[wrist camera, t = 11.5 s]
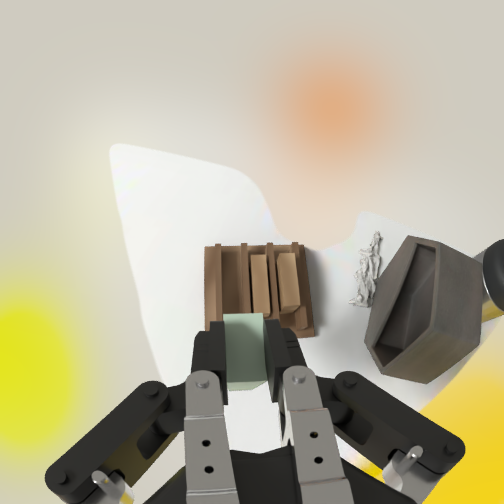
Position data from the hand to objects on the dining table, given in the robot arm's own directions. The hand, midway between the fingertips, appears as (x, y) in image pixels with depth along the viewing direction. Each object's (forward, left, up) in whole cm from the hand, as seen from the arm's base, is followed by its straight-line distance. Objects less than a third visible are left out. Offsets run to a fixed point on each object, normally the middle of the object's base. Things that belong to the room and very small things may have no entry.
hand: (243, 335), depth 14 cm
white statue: (-15, -20, -26) cm, 36 cm away
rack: (0, -10, -26) cm, 28 cm away
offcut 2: (-3, -11, -25) cm, 27 cm away
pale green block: (-1, +2, -12) cm, 12 cm away
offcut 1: (0, -10, -25) cm, 27 cm away
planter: (-21, -12, -26) cm, 36 cm away
